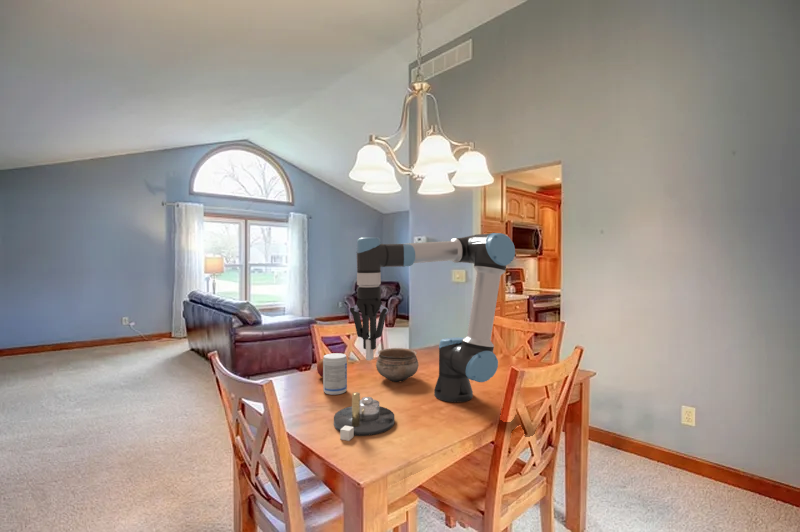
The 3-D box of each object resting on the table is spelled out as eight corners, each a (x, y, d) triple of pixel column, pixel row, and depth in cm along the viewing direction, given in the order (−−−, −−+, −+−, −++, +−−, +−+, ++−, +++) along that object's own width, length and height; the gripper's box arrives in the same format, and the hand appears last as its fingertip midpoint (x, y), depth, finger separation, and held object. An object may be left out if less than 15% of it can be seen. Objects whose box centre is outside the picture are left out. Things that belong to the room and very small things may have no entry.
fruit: (339, 380, 176) (340, 358, 176) (316, 382, 174) (316, 359, 174) (338, 373, 186) (338, 352, 186) (316, 374, 184) (317, 353, 184)
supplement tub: (350, 392, 161) (351, 356, 160) (328, 397, 155) (329, 359, 155) (340, 386, 169) (340, 351, 168) (319, 390, 163) (319, 354, 163)
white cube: (353, 436, 122) (353, 426, 122) (349, 440, 119) (349, 430, 119) (344, 435, 123) (345, 425, 123) (340, 439, 120) (340, 429, 120)
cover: (374, 423, 127) (374, 404, 127) (351, 420, 129) (351, 401, 129) (382, 413, 134) (382, 396, 134) (360, 410, 137) (360, 393, 136)
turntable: (383, 439, 120) (383, 399, 120) (323, 430, 125) (323, 392, 125) (401, 414, 139) (401, 380, 139) (348, 407, 144) (348, 374, 144)
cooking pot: (406, 391, 163) (406, 361, 163) (365, 385, 170) (365, 356, 170) (426, 374, 186) (426, 348, 186) (389, 370, 194) (389, 345, 193)
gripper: (392, 285, 129) (392, 357, 129) (355, 284, 133) (356, 354, 134) (383, 287, 122) (384, 364, 122) (345, 286, 126) (346, 360, 127)
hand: (369, 359), depth 128 cm, fingers closed
